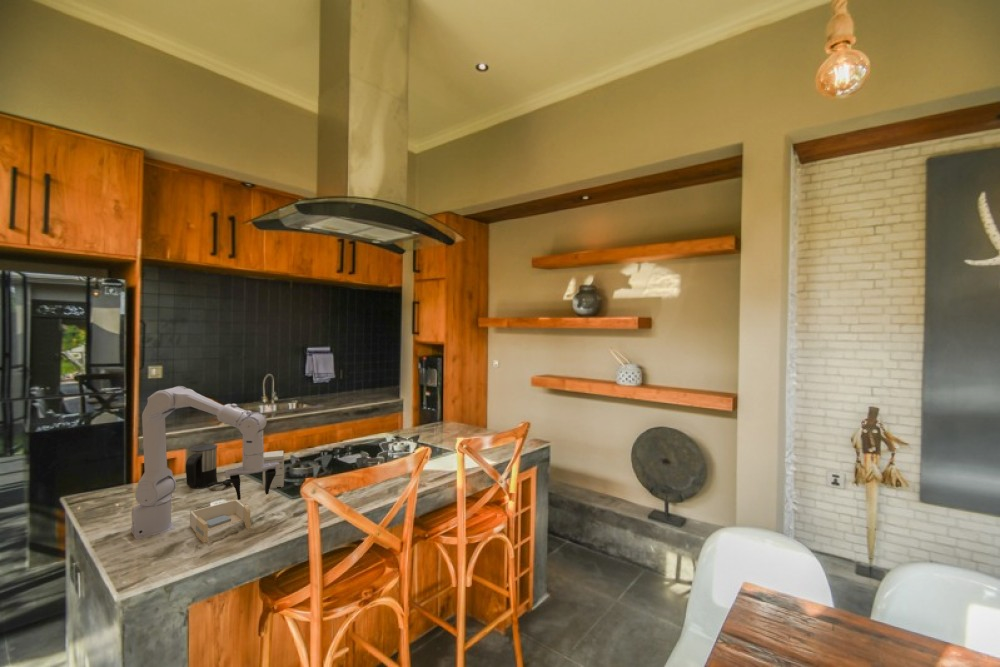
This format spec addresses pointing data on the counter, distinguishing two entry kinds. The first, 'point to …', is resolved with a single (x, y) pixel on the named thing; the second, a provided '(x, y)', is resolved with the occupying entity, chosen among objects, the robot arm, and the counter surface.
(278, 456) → the supplement box
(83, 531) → the counter surface
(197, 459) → the milk frother
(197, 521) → the flap left
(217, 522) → the booklet
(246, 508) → the flap right
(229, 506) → the carton
